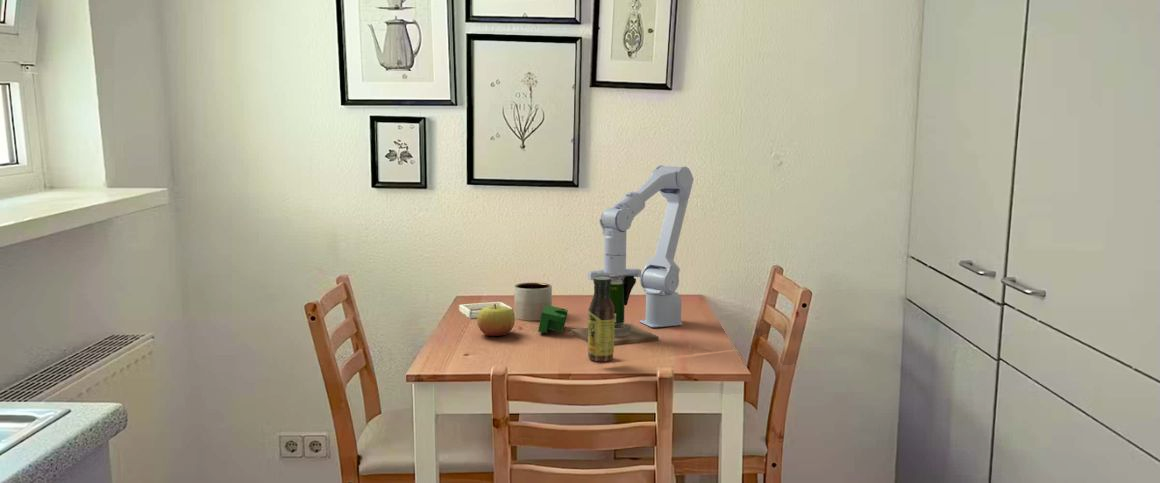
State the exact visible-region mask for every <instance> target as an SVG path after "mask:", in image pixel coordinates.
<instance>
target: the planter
mask: <svg viewBox="0 0 1160 483" xmlns="http://www.w3.org/2000/svg"><path fill="white" fill-rule="evenodd" d="M513 288H514V290H513V292H514V293H513V294H514V295H513V296H514V299H513V300H514V301H513V302H514V304H513V313H514V317H515V320H520V321H527V322H540V320H541V315H542V312H543V311H544V309H545V308H546V306H547V305H549V306H553V302H552V301H553V300H552V298H553V295H552V294H553V293H552V292H553V291H552V290H553V289H552V288H553V287H552V285H551V284H549V283H546V282H545V283H544V282H522V283H517V284H515V285H514V286H513Z"/></svg>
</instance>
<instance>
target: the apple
mask: <svg viewBox="0 0 1160 483" xmlns="http://www.w3.org/2000/svg"><path fill="white" fill-rule="evenodd" d="M479 311H480V312H479V314H478V316H477V318H476V319H477V320H476V321H477V326H478V328H479V330H480V332H482V334H484V335H486V336H488V337H489V336H491V337H498V336H499V337H500V336H504V335H507V334H509V333H510V332H511V331H512V330H513V328H514V326H515V321H516V318H515V317H514V310H513V311H512V310H511V309H510V308H508V307H505V306H496V304H494V306H489V307H485V308H483V309H480V310H479Z"/></svg>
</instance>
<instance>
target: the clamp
mask: <svg viewBox="0 0 1160 483" xmlns="http://www.w3.org/2000/svg"><path fill="white" fill-rule="evenodd" d="M568 312H569V310H568V309H566V308H562V307H557V306H554V305H552V306H549V305H547V306H546V308H545V309H544V311H543V312H542V315H541V320H540V321H539V325H538V333H542V334H547V333H548V331H549V330H552V331H555V332H559V333H562V332H563V329H565V325H566V321H567V316H568Z"/></svg>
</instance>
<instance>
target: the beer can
mask: <svg viewBox="0 0 1160 483" xmlns="http://www.w3.org/2000/svg"><path fill="white" fill-rule="evenodd" d="M609 297H610V299H611V300H612V301H613V304H614V317H615V320H614V326H619V325H623V323H625V306H626V305H625V282H624V278H611V284H610V296H609Z"/></svg>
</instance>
